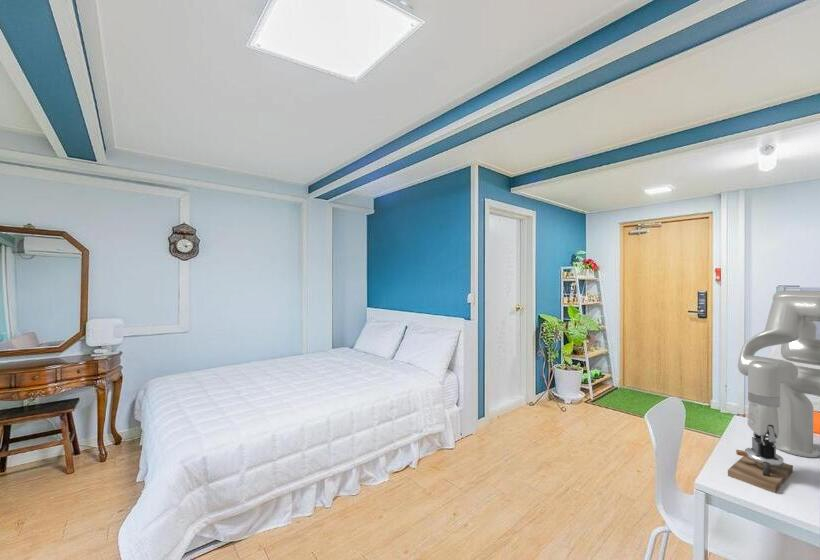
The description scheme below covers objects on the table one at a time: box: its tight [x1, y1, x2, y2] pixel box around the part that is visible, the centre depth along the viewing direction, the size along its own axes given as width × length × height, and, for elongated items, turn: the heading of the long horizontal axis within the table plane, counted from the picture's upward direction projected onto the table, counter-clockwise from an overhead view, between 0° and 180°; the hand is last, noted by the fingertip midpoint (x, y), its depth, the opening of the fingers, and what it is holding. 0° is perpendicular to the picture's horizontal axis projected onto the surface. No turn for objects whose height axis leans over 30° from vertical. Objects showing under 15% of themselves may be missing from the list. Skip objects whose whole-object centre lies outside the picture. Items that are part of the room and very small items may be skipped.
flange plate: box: [735, 436, 785, 467], centre depth 116 cm, size 11×9×6 cm
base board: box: [727, 456, 794, 494], centre depth 115 cm, size 21×11×6 cm, turn 122°
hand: (763, 453), depth 116 cm, fingers closed on flange plate, 4 cm apart
